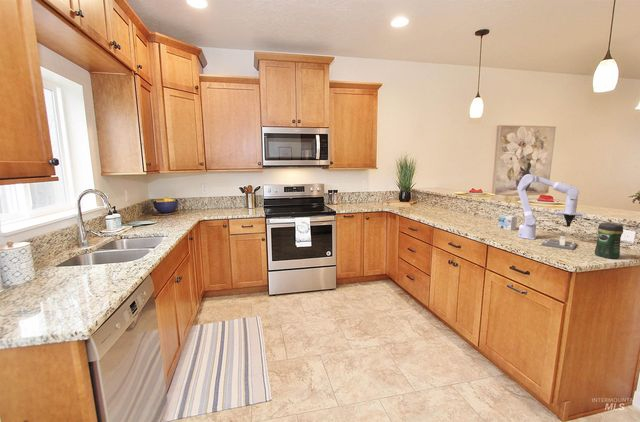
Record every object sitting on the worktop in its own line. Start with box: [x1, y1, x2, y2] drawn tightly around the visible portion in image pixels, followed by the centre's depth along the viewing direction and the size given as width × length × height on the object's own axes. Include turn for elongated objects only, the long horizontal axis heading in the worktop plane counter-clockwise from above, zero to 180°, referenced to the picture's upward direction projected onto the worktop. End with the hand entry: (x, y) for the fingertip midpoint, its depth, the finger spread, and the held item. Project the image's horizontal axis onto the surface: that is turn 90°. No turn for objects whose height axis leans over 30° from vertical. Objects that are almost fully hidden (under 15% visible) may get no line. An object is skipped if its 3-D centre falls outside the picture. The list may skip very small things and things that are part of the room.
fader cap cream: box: [559, 238, 567, 246], centre depth 180 cm, size 2×3×4 cm
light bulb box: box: [497, 214, 518, 231], centre depth 232 cm, size 11×7×11 cm, turn 25°
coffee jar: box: [594, 222, 624, 260], centre depth 160 cm, size 10×8×19 cm
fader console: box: [541, 238, 578, 251], centre depth 185 cm, size 15×18×2 cm
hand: (568, 226), depth 191 cm, fingers closed
